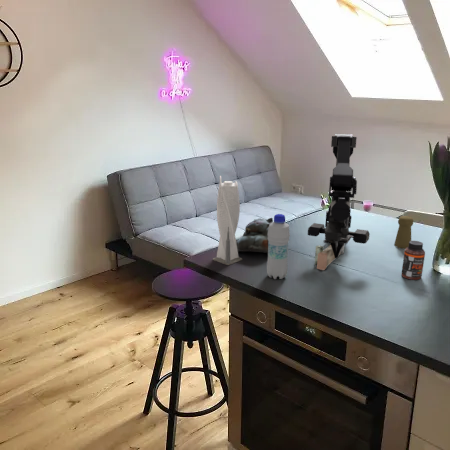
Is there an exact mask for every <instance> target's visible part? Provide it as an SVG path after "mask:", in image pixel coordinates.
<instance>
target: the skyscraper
mask: <svg viewBox="0 0 450 450" xmlns="http://www.w3.org/2000/svg"><path fill="white" fill-rule="evenodd" d="M238 184H239V183H238V181H237V180H235V181H234V182H233V181H232V180H225V181H223V182H222V175H219V184H218V185H219V186H218V191H217V198H216V199H217V200H216V218H217V220H216V221H217V227H218V231H219V241H218V247H217V251H216V257H213V258H212V261H214V262H218V263H220V264H223V265H225V266H230V265H233V264H235V263H237V262H238V263H239V262H240V261H243V258H242V257H240V256H239V252H238V250H237V244H236V242H237V239H236V231H237V229H238V225H239V219H240V212H241V211H240V209H241V208H240V207H241V206H240V205H241V204H240V202H241V201H240V193H239V187H238V186H239V185H238Z"/></svg>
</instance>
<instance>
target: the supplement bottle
mask: <svg viewBox="0 0 450 450" xmlns="http://www.w3.org/2000/svg"><path fill="white" fill-rule="evenodd" d="M423 245H424V243H423V242H421V241H420V240H419V241H418V240H411V241H410V242H409V246H408V247H407V248H406V249H404V252H403V261H402V268H401V276H402V277H403V278H405V279H407V280H410V281H418V280H420V279H422V276H423V272H424V263H425V256H426V251H425V250H424V248H423V247H424V246H423Z"/></svg>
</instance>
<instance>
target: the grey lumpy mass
mask: <svg viewBox="0 0 450 450" xmlns="http://www.w3.org/2000/svg"><path fill="white" fill-rule="evenodd" d="M273 222H274V217H269V218H268V219H265V218H256V219H254V220H252V221H250V222H248V223H247V224H246V226H245V228H244V229H245V231H243V234H242V236H241V237H240V238H239V239H237V240H236V244H237V250H238V253H239V252H254V253H264V254H267V255H268V242H269V241H268V235H267V234H268V229H269V224H270V223H273Z"/></svg>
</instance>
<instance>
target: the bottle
mask: <svg viewBox="0 0 450 450" xmlns="http://www.w3.org/2000/svg"><path fill="white" fill-rule="evenodd" d="M267 235H268V241H269V242H268V254H267V263H266V272H267V276H268V277H269V278H270V279H272V278H273V279H274V280H277V277H278V278H279V280H283V278H286V276H287V274H288V251H289V241H290V237H291V233H290V225H289V224H288V223H286V216H285V214H282V213H276V214H275V215H274V216H273V223H270V224H269V229H268V234H267Z"/></svg>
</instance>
